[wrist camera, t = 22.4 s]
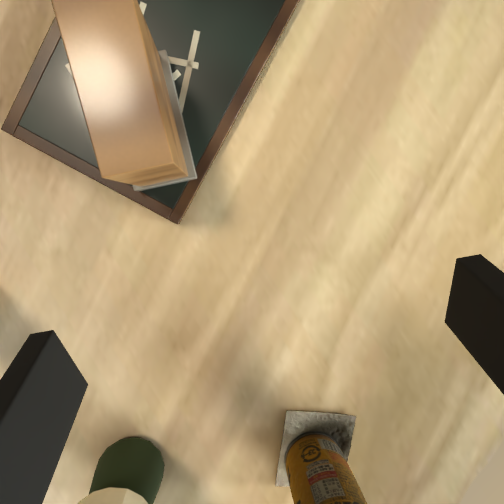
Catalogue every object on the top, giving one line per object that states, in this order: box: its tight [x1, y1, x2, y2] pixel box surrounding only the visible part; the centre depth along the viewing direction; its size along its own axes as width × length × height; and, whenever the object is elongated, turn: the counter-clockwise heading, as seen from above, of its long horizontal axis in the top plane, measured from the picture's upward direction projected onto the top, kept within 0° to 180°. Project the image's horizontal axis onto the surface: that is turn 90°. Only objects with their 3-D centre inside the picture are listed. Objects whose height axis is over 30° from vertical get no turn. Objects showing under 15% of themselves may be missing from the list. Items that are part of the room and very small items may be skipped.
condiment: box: [275, 411, 367, 504], centre depth 30 cm, size 7×8×12 cm
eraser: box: [51, 0, 197, 191], centre depth 23 cm, size 10×5×11 cm, turn 13°
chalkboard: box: [1, 0, 300, 224], centre depth 29 cm, size 26×16×1 cm, turn 151°
